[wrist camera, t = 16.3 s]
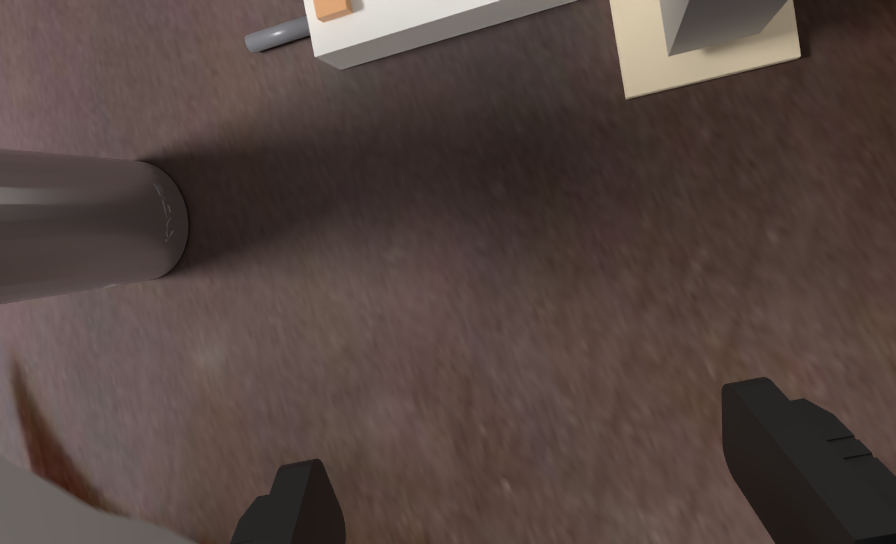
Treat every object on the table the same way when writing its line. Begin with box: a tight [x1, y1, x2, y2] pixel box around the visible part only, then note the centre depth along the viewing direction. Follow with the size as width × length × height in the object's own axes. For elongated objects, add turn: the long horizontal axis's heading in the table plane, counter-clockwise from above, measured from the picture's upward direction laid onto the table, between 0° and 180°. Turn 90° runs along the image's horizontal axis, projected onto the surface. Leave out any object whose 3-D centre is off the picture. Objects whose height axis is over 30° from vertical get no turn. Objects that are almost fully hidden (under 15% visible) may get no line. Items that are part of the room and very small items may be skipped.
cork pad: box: [610, 0, 801, 100], centre depth 32 cm, size 9×7×1 cm
